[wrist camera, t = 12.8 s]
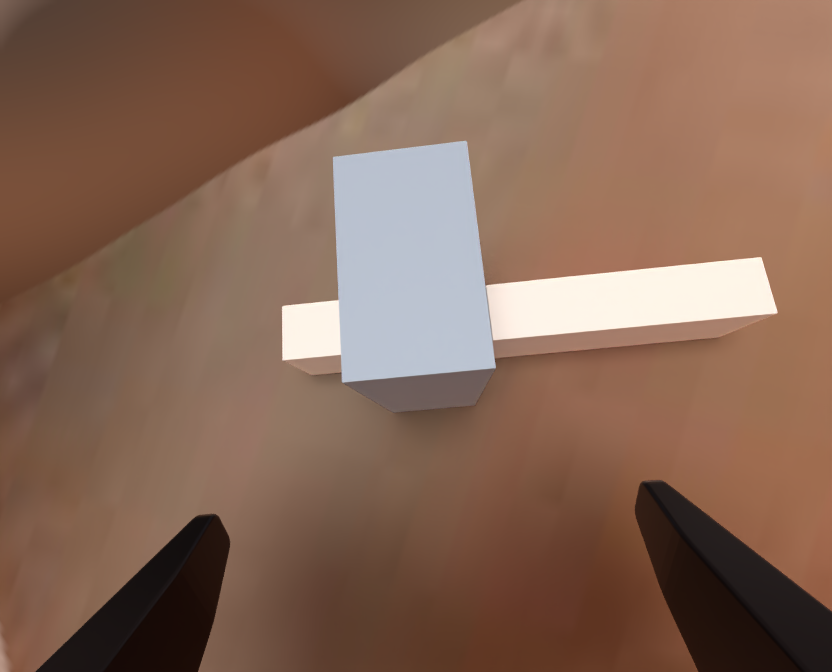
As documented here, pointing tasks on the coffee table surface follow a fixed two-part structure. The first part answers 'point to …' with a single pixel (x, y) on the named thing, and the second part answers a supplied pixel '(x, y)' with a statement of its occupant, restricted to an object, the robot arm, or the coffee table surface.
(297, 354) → the slotted rail
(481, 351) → the slotted block
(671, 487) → the robot arm
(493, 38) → the coffee table surface
